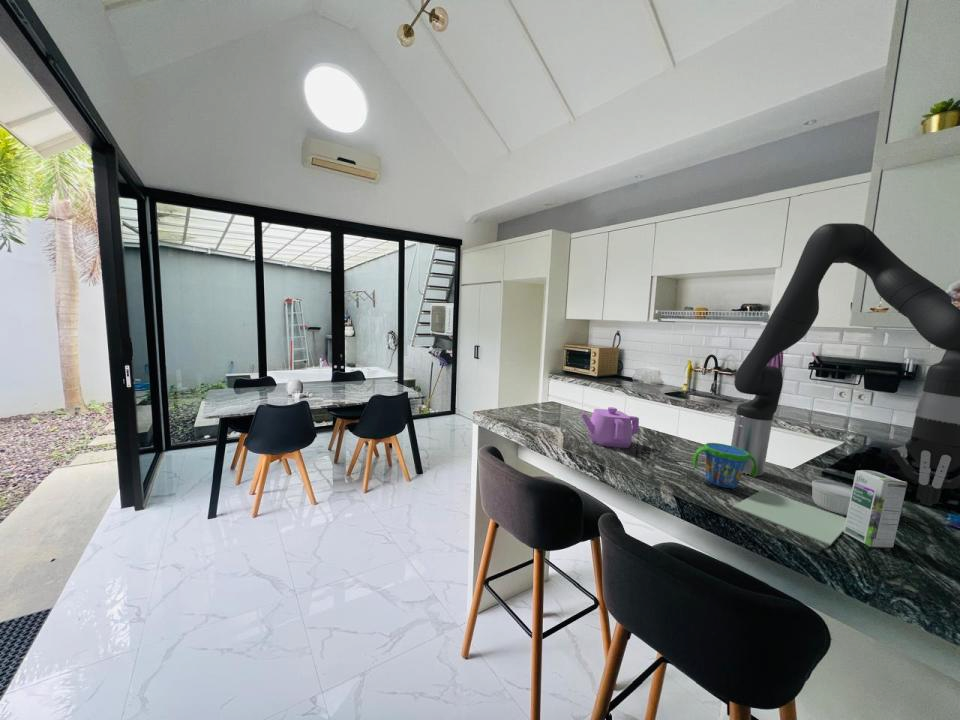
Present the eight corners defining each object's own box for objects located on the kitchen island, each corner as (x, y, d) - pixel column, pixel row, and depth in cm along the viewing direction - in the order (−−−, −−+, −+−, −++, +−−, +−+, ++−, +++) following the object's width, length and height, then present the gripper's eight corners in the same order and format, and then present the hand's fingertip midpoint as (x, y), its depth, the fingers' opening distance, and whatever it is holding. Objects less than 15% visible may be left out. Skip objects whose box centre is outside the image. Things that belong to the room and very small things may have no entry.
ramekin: (830, 497, 106) (833, 479, 105) (879, 519, 95) (883, 498, 94) (797, 498, 103) (800, 479, 103) (844, 520, 92) (848, 499, 92)
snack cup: (747, 483, 111) (753, 448, 110) (760, 497, 101) (766, 460, 100) (686, 471, 116) (691, 438, 115) (693, 484, 106) (698, 448, 105)
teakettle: (620, 452, 129) (625, 416, 128) (575, 438, 141) (579, 405, 140) (641, 443, 141) (645, 410, 140) (598, 431, 153) (601, 400, 152)
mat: (762, 491, 106) (762, 489, 106) (851, 521, 92) (852, 520, 92) (732, 507, 94) (732, 505, 94) (830, 545, 80) (830, 543, 80)
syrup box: (841, 532, 86) (854, 469, 84) (865, 533, 87) (878, 470, 85) (869, 547, 80) (883, 480, 79) (895, 548, 81) (909, 481, 79)
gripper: (1001, 425, 72) (980, 514, 74) (898, 408, 82) (881, 486, 84) (1002, 429, 67) (979, 524, 69) (892, 411, 78) (875, 493, 80)
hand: (925, 503), depth 77 cm, fingers closed
